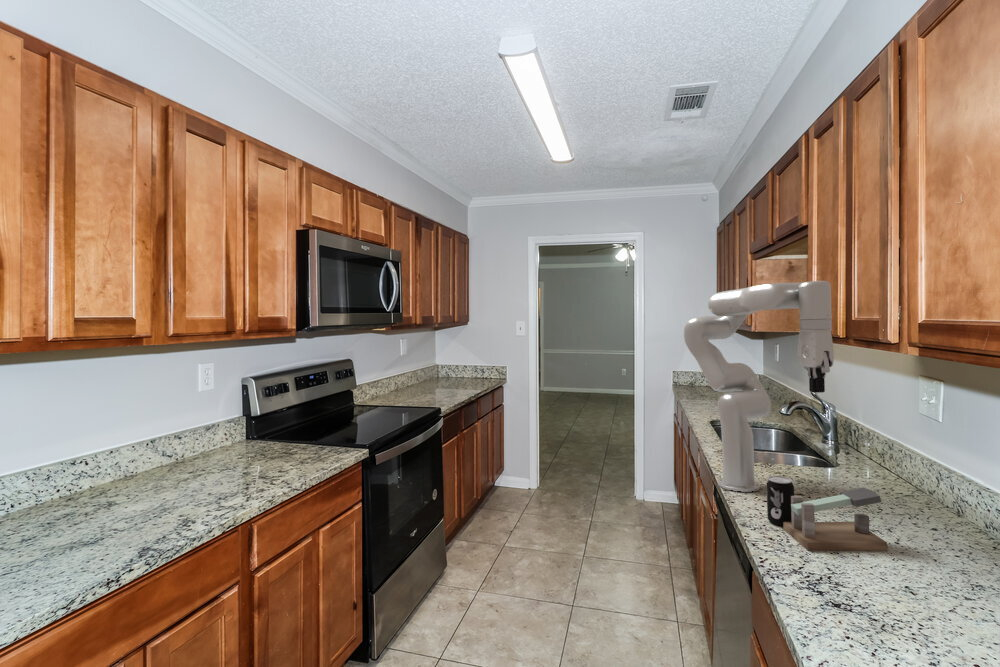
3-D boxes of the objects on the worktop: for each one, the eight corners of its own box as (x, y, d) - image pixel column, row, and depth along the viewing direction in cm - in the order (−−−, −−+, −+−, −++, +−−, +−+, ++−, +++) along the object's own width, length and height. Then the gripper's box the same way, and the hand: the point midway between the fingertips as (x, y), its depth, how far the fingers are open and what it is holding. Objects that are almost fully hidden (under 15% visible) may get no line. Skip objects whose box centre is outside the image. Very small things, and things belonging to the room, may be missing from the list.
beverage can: (799, 528, 131) (797, 483, 130) (772, 527, 132) (770, 482, 132) (789, 518, 137) (788, 475, 137) (764, 517, 138) (763, 475, 138)
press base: (783, 529, 130) (782, 492, 130) (855, 529, 128) (854, 491, 128) (807, 550, 118) (806, 509, 118) (887, 550, 116) (886, 509, 116)
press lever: (789, 508, 127) (787, 502, 127) (865, 493, 125) (863, 487, 125) (801, 517, 121) (799, 511, 121) (881, 502, 119) (879, 495, 119)
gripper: (787, 326, 143) (789, 388, 144) (815, 326, 128) (817, 396, 129) (814, 325, 143) (816, 387, 143) (846, 325, 128) (848, 395, 128)
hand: (817, 391), depth 136 cm, fingers closed
